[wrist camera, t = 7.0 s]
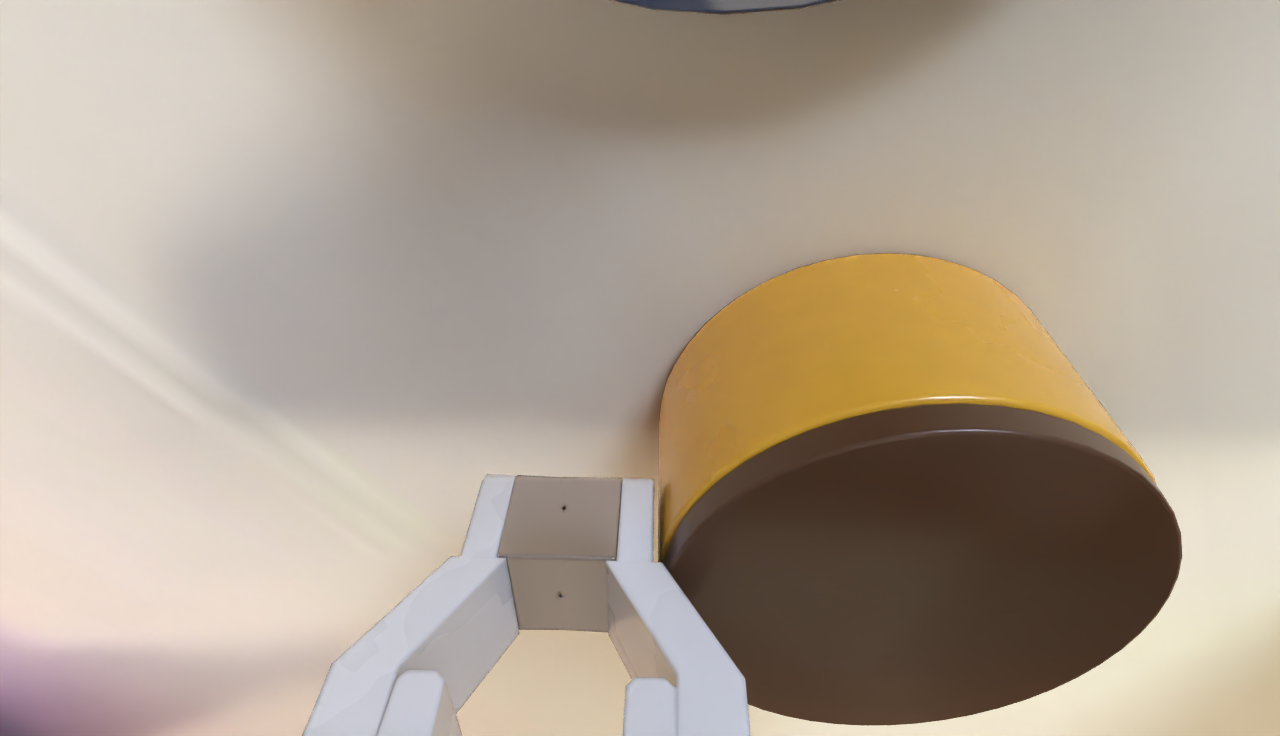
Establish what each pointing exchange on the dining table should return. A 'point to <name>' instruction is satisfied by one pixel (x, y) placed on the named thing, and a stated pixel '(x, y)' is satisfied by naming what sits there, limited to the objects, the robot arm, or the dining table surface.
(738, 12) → the lid
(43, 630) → the dining table surface
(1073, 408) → the tin
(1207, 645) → the dining table surface
